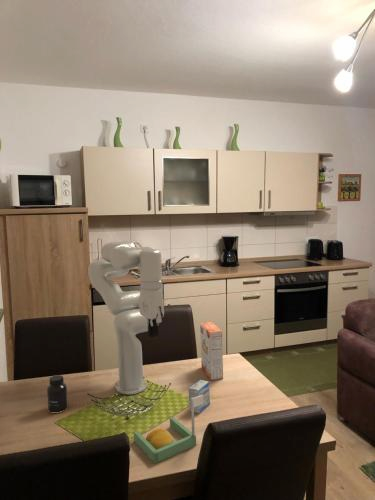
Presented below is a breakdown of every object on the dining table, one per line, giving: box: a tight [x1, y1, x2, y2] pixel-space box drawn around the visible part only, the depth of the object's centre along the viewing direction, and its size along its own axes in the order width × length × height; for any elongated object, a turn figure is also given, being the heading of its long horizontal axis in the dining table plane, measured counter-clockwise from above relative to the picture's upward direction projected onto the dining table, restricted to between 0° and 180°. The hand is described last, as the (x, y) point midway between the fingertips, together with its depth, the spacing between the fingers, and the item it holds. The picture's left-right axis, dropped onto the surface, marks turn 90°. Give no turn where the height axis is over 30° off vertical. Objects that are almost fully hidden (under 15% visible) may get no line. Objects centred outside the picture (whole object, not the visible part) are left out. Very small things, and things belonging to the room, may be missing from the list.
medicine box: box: [187, 379, 211, 414], centre depth 139 cm, size 8×4×9 cm, turn 148°
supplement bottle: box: [46, 374, 69, 413], centre depth 140 cm, size 7×7×12 cm
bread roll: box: [145, 428, 175, 450], centre depth 118 cm, size 8×9×4 cm
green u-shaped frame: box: [133, 395, 203, 464], centre depth 119 cm, size 13×18×15 cm
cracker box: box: [199, 321, 224, 381], centre depth 167 cm, size 14×6×21 cm, turn 14°
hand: (153, 335), depth 137 cm, fingers closed
